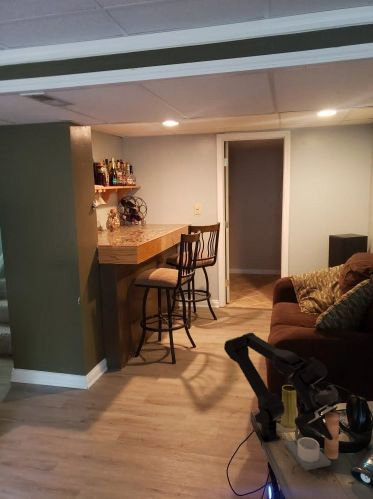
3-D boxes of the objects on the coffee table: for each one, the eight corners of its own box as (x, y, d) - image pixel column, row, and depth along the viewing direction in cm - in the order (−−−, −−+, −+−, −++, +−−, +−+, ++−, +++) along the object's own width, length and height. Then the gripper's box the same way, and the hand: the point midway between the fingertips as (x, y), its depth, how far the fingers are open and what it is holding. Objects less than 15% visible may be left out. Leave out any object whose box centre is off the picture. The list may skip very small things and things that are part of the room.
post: (321, 451, 123) (322, 413, 121) (332, 449, 124) (333, 411, 122) (329, 460, 119) (330, 420, 117) (340, 457, 120) (341, 418, 118)
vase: (297, 428, 146) (298, 392, 144) (281, 426, 147) (281, 391, 145) (296, 419, 152) (296, 384, 150) (280, 417, 153) (280, 383, 151)
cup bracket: (285, 445, 136) (285, 432, 135) (308, 441, 138) (308, 427, 138) (305, 470, 124) (305, 455, 123) (330, 465, 126) (330, 450, 125)
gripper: (303, 389, 116) (336, 441, 109) (337, 370, 127) (369, 416, 120) (281, 403, 123) (311, 453, 116) (316, 384, 134) (345, 428, 127)
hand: (335, 437), depth 120 cm, fingers closed on post, 4 cm apart
